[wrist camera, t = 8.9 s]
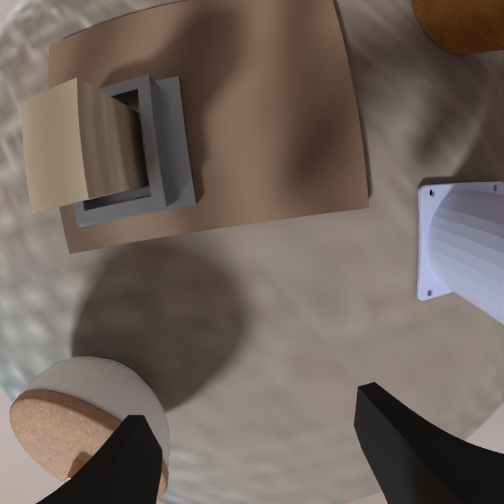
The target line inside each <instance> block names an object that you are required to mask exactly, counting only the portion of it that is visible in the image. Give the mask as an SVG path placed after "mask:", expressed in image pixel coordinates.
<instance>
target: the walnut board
mask: <svg viewBox="0 0 504 504" xmlns="http://www.w3.org/2000/svg"><path fill="white" fill-rule="evenodd" d="M148 74H149V75H150V76H151V77H152V78H153V79H154V81H158V80H162V79H166V78H171V77H176V76H179V78H180V80H181V89H182V97H183V105H184V114H185V121H186V129H187V136H188V144H189V151H190V158H191V165H192V171H193V178H194V184H195V191H196V197H197V204H196V205H191V206H185V207H179V208H174V209H168V210H163V211H157V212H152V213H146V214H141V215H136V216H131V217H126V218H121V219H116V220H111V221H107V222H102V223H97V224H93V225H88V226H84V227H79V225H77V222H76V217H75V211H74V206H73V204H69V205H65V206H61V207H60V212H61V217H62V222H63V227H64V232H65V236H66V240H67V245H68V249H69V253H70V254H72V253H77V252H83V251H88V250H93V249H99V248H104V247H110V246H115V245H121V244H126V243H132V242H138V241H144V240H149V239H155V238H161V237H167V236H173V235H179V234H185V233H192V232H198V231H204V230H211V229H217V228H224V227H230V226H237V225H244V224H250V223H257V222H264V221H271V220H278V219H286V218H293V217H300V216H308V215H315V214H323V213H331V212H339V211H347V210H355V209H363V208H369V202H368V189H367V178H366V168H365V159H364V150H363V142H362V135H361V128H360V121H359V115H358V109H357V103H356V97H355V91H354V86H353V81H352V76H351V71H350V66H349V62H348V57H347V53H346V49H345V45H344V40H343V36H342V33H341V29H340V25H339V21H338V18H337V14H336V11H335V7H334V4H333V0H187V1H182V2H177V3H172V4H168V5H163V6H159V7H155V8H151V9H147V10H143V11H140V12H136V13H133V14H129V15H126V16H123V17H120V18H117V19H114V20H111V21H108V22H105V23H102V24H100V25H97V26H94V27H92V28H89V29H86V30H84V31H82V32H79V33H77V34H74V35H72V36H70V37H68V38H65V39H63V40H61V41H59V42H57V43H55V44H52V45H50V51H49V75H48V90H49V89H51V88H53V87H55V86H58V85H60V84H62V83H65V82H67V81H69V80H72V79H74V78H79V79H80V80H82V81H84V82H86V83H88V84H90V85H91V86H93V87H95V88H97V89H101V88H104V87H107V86H110V85H113V84H116V83H119V82H123V81H126V80H130V79H133V78H137V77H141V76H144V75H148Z"/></svg>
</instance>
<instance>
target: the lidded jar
mask: <svg viewBox="0 0 504 504" xmlns="http://www.w3.org/2000/svg"><path fill="white" fill-rule="evenodd" d="M128 415H144V416H145V418H146V420H147V422H148V424H149V426H150V428H151V430H152V432H153V434H154V435H155V437H156V439H157V441H158V443H159V444H160V446H161V448H162V450H163V453H162V472H161V479H160V484H159V490H158V495H157V499H158V498H159V497H161V496H162V495H163V494H164V493H165V491H166V489H167V485H168V474H169V472H168V465H169V455H170V434H169V427H168V421H167V418H166V415H165V412H164V410H163V407H162V405H161V403H160V402H159V400H158V398H157V396H156V395H155V393H154V392H153V391H152V390H151V388H150V387H149V386H148V385H147V384H146V383H145V382H144V380H143V379H142V378H141V377H140V376H139V375H138V374H137V373H136V372H135V371H134V370H132V369H131V368H129V367H128V366H126V365H124V364H122V363H120V362H118V361H115V360H111V359H107V358H98V357H92V356H80V357H72V358H68V359H65V360H62V361H60V362H57V363H55V364H54V365H52V366H51V367H49V368H48V369H46V370H45V371H43V372H42V373H41V374H40V375H39V376H37V377H36V378H35V379H34V381H33V382H32V383H31V384H30V385H29V386H28V388H27V389H26V390H25V392H23V393H22V394H20V395H19V396H18V398H17V399H16V400H15V402H14V403H13V404H12V406H11V409H10V423H11V426H12V429H13V431H14V433H15V436H16V437H17V439H18V441H19V442H20V444H21V445H22V447H23V448H24V449H25V450H26V452H27V453H28V454H29V455H30V456H31V457H32V458H33V459H34V460H35V461H36V462H37V463H38V464H39V465H40V466H41V467H43V468H44V469H45V470H46V471H48V472H49V473H50V474H52V475H53V476H54V477H56V478H58V479H59V480H60V481H62V482H64V483H66V482H67V481H68V480H69V479H70V478H71V477H73V476H74V475H75V474H76V473H77V472H78V471H79V470H80V469H81V468H82V467H83V466H84V465H85V464H86V463H87V462H88V461H89V460H90V459H91V457H92V456H93V455H94V454H95V453H96V452H97V451H98V450H99V448H100V447H101V446H102V445H103V444H104V443H105V442H106V440H107V439H108V438H109V437H110V436H111V434H112V433H113V432H114V431H115V430H116V428H117V427H118V426H119V425H120V424H121V422H122V421H123V420H124V419H125V418H126V417H127V416H128Z"/></svg>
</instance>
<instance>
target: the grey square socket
mask: <svg viewBox="0 0 504 504" xmlns="http://www.w3.org/2000/svg"><path fill="white" fill-rule="evenodd" d="M99 90H100V91H102V92H104V93H106V94H107V95H109V96H111V97H113V98H114V99H116V100H118V101H120V102H121V103H123V104H125V105H126V106H128V107H130V108H131V109H133V110H135V111H137V112H138V113H139V118H140V127H141V136H142V144H143V151H144V158H145V165H146V172H147V179H148V185H149V186H146V187H142V188H137V189H132V190H128V191H123V192H119V193H115V194H110V195H106V196H102V197H97V198H93V199H89V200H85V201H81V202H77V203H73V206H74V211H75V217H76V222H77V225H79V227H84V226H88V225H93V224H97V223H102V222H107V221H111V220H116V219H121V218H126V217H131V216H136V215H141V214H146V213H152V212H157V211H163V210H168V209H174V208H179V207H185V206H191V205H196V204H197V197H196V191H195V184H194V178H193V171H192V165H191V158H190V151H189V144H188V136H187V129H186V121H185V114H184V105H183V97H182V89H181V80H180V78H179V76H176V77H171V78H166V79H162V80H158V81H154V79H153V78H152V77H151V76H150V75H149V74H148V75H144V76H141V77H137V78H133V79H130V80H126V81H123V82H119V83H116V84H113V85H110V86H107V87H104V88H101V89H99Z"/></svg>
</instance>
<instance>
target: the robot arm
mask: <svg viewBox="0 0 504 504" xmlns="http://www.w3.org/2000/svg"><path fill="white" fill-rule="evenodd" d="M430 190H432V194H431V196H430ZM418 206H419V262H418V282H417V297H418V298H419V299H420V300H422V301H423V300H427V299H431V298H434V297H438V296H441V295H445V294H448V293H451V292H455V293H457V294H458V295H460V296H461V297H463V298H465V299H466V300H468V301H469V302H471V303H472V304H474V305H475V306H477V307H478V308H480V309H481V310H483V311H484V312H486V313H487V314H489V315H490V316H492V317H493V318H495V319H496V320H498V321H499V322H500V323H502V324H503V325H504V183H503V182H501V181H491V182H466V183H447V184H431V185H422V186H420V187H419V190H418ZM429 290H430V292H429V293H428V291H429ZM427 293H428V294H427ZM354 427H355V430H356V433H357V436H358V439H359V442H360V445H361V448H362V450H363V452H364V454H365V457H366V459H367V461H368V463H369V465H370V467H371V469H372V471H373V473H374V475H375V477H376V479H377V481H378V483H379V485H380V487H381V489H382V491H383V493H384V495H385V498H386V500H387V502H388V504H504V454H502V453H498V452H494V451H491V450H488V449H485V448H482V447H479V446H475V445H473V444H471V443H468V442H466V441H464V440H461V439H459V438H457V437H455V436H453V435H451V434H449V433H447V432H445V431H443V430H442V429H440V428H438V427H437V426H435V425H433V424H432V423H430V422H428V421H427V420H425V419H424V418H422V417H421V416H419V415H418V414H416V413H415V412H414V411H412V410H411V409H409V408H408V407H407V406H405V405H404V404H403V403H401V402H400V401H399V400H397V399H396V398H395V397H393V396H392V395H391V394H389V393H388V392H387V391H386V390H384V389H383V388H382V387H381V386H379V385H378V384H377V383H375V382H373V383H369V384H366V385H362V386H358V391H357V402H356V411H355V420H354ZM162 453H163V450H162V448H161V446H160V444H159V443H158V441H157V439H156V437H155V435H154V434H153V432H152V430H151V428H150V426H149V424H148V422H147V420H146V418H145V416H144V415H128V416H127V417H126V418H125V419H124V420H123V421H122V422H121V424H120V425H119V426H118V427H117V428H116V430H115V431H114V432H113V433H112V434H111V436H110V437H109V438H108V439H107V440H106V442H105V443H104V444H103V445H102V446H101V447H100V448H99V450H98V451H97V452H96V453H95V454H94V455H93V456H92V457H91V459H90V460H89V461H88V462H87V463H86V464H85V465H84V466H83V467H82V468H81V469H80V470H79V471H78V472H77V473H76V474H75V475H74V476H73V477H71V478H70V479H69V480H68V481H67V482H66V483H64V484H63V485H62V486H61V487H59V488H58V489H57V490H56V491H54V492H53V493H52V494H50V495H49V496H47V497H45V498H44V499H43V500H41V501H39V502H38V503H36V504H156V500H157V495H158V490H159V484H160V479H161V472H162Z"/></svg>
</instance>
